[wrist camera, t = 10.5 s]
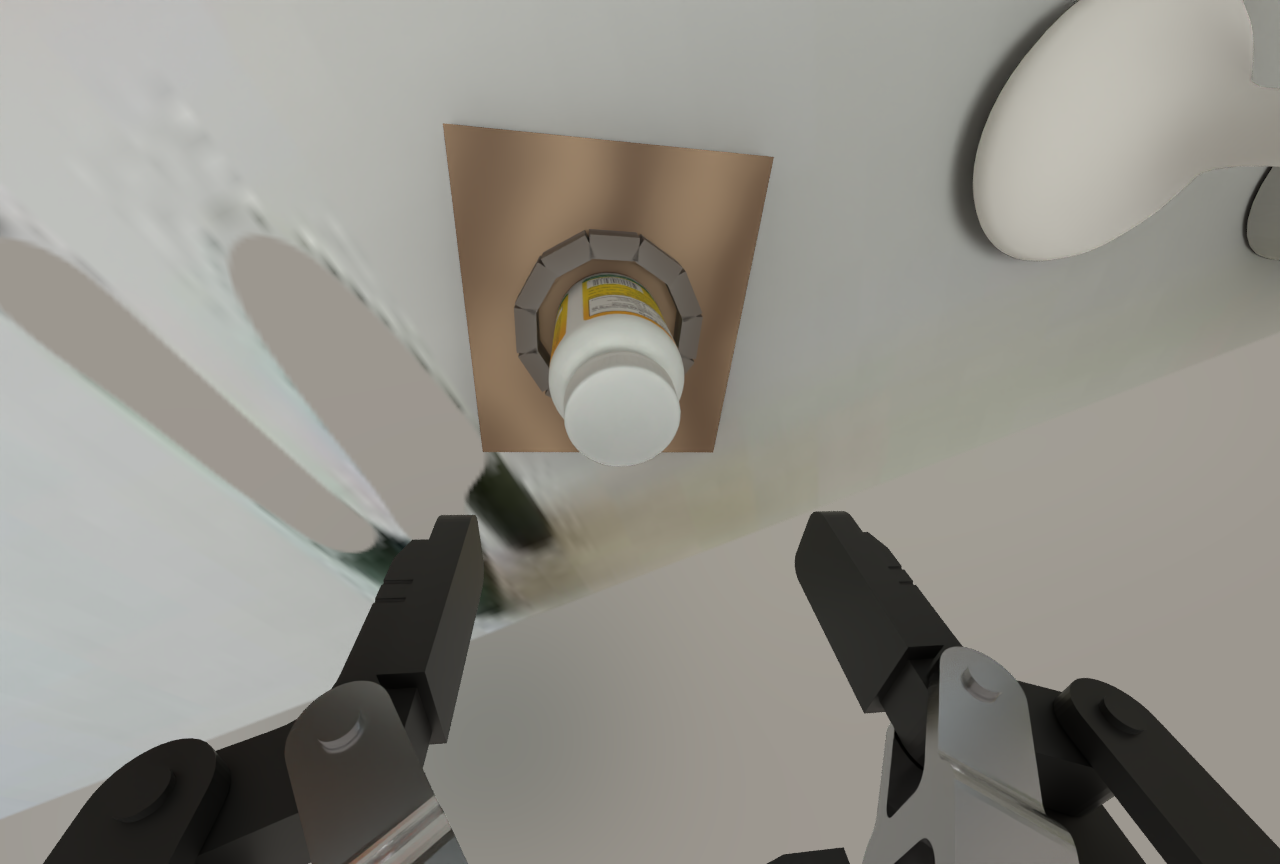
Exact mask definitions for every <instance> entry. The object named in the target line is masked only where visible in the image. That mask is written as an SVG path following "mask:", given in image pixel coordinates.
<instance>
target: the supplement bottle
mask: <svg viewBox="0 0 1280 864" xmlns="http://www.w3.org/2000/svg"><path fill="white" fill-rule="evenodd" d="M683 386H684V367H683V362H682V358H681V356H680V353H679V350H678V348H677V346H676V344H675V341H674V339H673V337H672V335H671V333H670V331H669V329H668V327H667V325H666V323H665V321H664V319H663V317H662V315H661V312H660V310H659V308H658V306H657V304H656V302H655V300H654V299H653V297H652V295H651V294H650V293H649V291H648V290H647V289H646V288H645V287H644V286H642V285H641V284H640V283H639V282H637V281H635V280H634V279H632V278H630V277H627V276H625V275H621V274H616V273H599V274H594V275H591V276H589V277H586V278H584V279H582V280H581V281H579V282H577V283H576V284H575V285H574V286H572V287H571V288H570V289H569V291H568V292H567V293H566V294H565V296H564V297H563V299H562V301H561V303H560V305H559V308H558V312H557V317H556V323H555V330H554V338H553V345H552V352H551V359H550V366H549V389H550V394H551V397H552V400H553V403H554V405H555V407H556V409H557V411H558V412H559V414H560V415H561V416H562V418H563V419H564V424H565V429H566V432H567V434H568V437H569V439H570V440H571V442H572V444H573V445H574V446H575V447H576V449H577V450H578V451H579V452H581V453H582V454H583V455H584V456H586V457H587V458H589V459H591V460H593V461H595V462H598V463H600V464H604V465H607V466H617V467H624V466H633V465H637V464H640V463H643V462H646V461H648V460H650V459H652V458H654V457H655V456H657V455H658V454H659V453H661V452H662V451H663V450H664V449H665V448H666V447H667V446H668V445H669V444H670V443H671V441H672V440H673V438H674V436H675V434H676V432H677V430H678V427H679V423H680V414H681V410H680V404H679V400H680V398H681V395H682V391H683Z"/></svg>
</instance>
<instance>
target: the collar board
mask: <svg viewBox="0 0 1280 864" xmlns="http://www.w3.org/2000/svg"><path fill="white" fill-rule="evenodd" d="M443 128H444V136H445V144H446V153H447V161H448V169H449V177H450V186H451V194H452V202H453V210H454V218H455V227H456V235H457V243H458V251H459V259H460V268H461V276H462V284H463V292H464V301H465V309H466V317H467V325H468V333H469V342H470V350H471V358H472V366H473V375H474V383H475V391H476V399H477V407H478V416H479V424H480V432H481V440H482V449H483V452H579V451H578V450H577V449H576V447H575V446H574V445H573V444H572V442H571V440H570V439H569V437H568V434H567V432H566V429H565V424H564V419H563V418H562V416H561V415H560V414H559V412H558V411H557V409H556V407H555V405H554V403H553V400H552V397H551V394H550V389H549V366H550V359H551V352H552V345H553V338H554V330H555V323H556V317H557V312H558V308H559V305H560V303H561V301H562V299H563V297H564V296H565V294H566V293H567V292H568V291H569V289H570V288H571V287H572V286H574V285H575V284H576V283H577V282H579V281H581V280H582V279H584V278H586V277H589V276H591V275H594V274H599V273H616V274H621V275H625V276H627V277H630V278H632V279H634V280H635V281H637V282H639V283H640V284H641V285H642V286H644V287H645V288H646V289H647V290H648V291H649V293H650V294H651V295H652V297H653V299H654V300H655V302H656V304H657V306H658V308H659V310H660V312H661V315H662V317H663V319H664V321H665V323H666V325H667V327H668V329H669V331H670V333H671V335H672V337H673V339H674V341H675V344H676V346H677V348H678V350H679V353H680V356H681V358H682V362H683V367H684V386H683V391H682V395H681V398H680V400H679V404H680V410H681V414H680V423H679V427H678V430H677V432H676V434H675V436H674V438H673V440H672V441H671V443H670V444H669V445H668V446H667V447H666V448H665V449H664V450H663V451H662V452H713V450H714V445H715V440H716V435H717V430H718V426H719V421H720V416H721V411H722V406H723V401H724V396H725V392H726V387H727V382H728V377H729V372H730V367H731V362H732V358H733V353H734V348H735V343H736V338H737V333H738V328H739V324H740V319H741V314H742V309H743V304H744V299H745V294H746V289H747V285H748V280H749V275H750V270H751V265H752V260H753V255H754V251H755V246H756V241H757V236H758V231H759V226H760V221H761V217H762V212H763V207H764V202H765V197H766V192H767V187H768V183H769V178H770V173H771V168H772V163H773V158H774V157H768V156H758V155H748V154H738V153H729V152H719V151H709V150H699V149H689V148H679V147H670V146H660V145H650V144H640V143H630V142H620V141H610V140H601V139H591V138H581V137H571V136H561V135H551V134H542V133H532V132H522V131H512V130H502V129H492V128H482V127H473V126H463V125H453V124H443Z"/></svg>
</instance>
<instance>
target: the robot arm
mask: <svg viewBox="0 0 1280 864" xmlns="http://www.w3.org/2000/svg"><path fill="white" fill-rule="evenodd" d="M1247 237H1248V241H1249V245H1250V247H1251V248H1252V249H1253V250H1254V252H1255V253H1256V254H1258V255H1260V256H1262V257H1264V258H1267V259H1273V260H1279V261H1280V167H1274V166H1273V167H1272V169H1271V171H1270V172H1269V174H1268V175H1267V177H1266V179H1265V180H1264V182H1263V183H1262V185H1261V187H1260V189H1259V191H1258V193H1257V195H1256V198H1255V200H1254V202H1253V204H1252V207H1251V211H1250V214H1249V218H1248V224H1247ZM795 570H796V574H797V578H798V580H799V582H800V584H801V586H802V588H803V590H804V593H805V595H806V596H807V599H808V601H809V603H810V604H811V606H812V609H813V611H814V613H815V615H816V617H817V619H818V621H819V623H820V625H821V627H822V629H823V631H824V633H825V635H826V637H827V639H828V641H829V643H830V645H831V647H832V649H833V651H834V653H835V655H836V657H837V659H838V661H839V663H840V665H841V667H842V669H843V671H844V673H845V675H846V677H847V679H848V681H849V683H850V685H851V687H852V689H853V691H854V693H855V695H856V698H857V700H858V701H859V704H860V706H861V708H862V710H863V712H864V713H876V712H886V714H887V716H888V718H889V720H890V721H891V723H890V725H889V727H888V729H887V733H886V740H885V749H884V758H883V766H882V776H881V784H880V792H879V801H878V809H877V817H876V823H875V827H874V830H873V833H872V836H871V838H870V840H869V843H868V845H867V848H866V851H865V855H864V858H863V862H862V864H1146V863H1145V862H1144V860H1143V859H1142V858H1141V857H1140V855H1139V854H1138V852H1137V851H1136V850H1135V848H1134V847H1133V846H1132V844H1131V843H1130V842H1129V840H1128V839H1127V838H1126V836H1125V835H1124V834H1123V832H1122V831H1121V830H1120V828H1119V827H1118V825H1117V824H1116V823H1115V821H1114V820H1113V819H1112V817H1111V816H1110V815H1109V813H1108V812H1107V811H1106V809H1105V808H1104V807H1103V805H1102V804H1103V803H1105V802H1106V801H1108V800H1109V799H1111V798H1112V797H1114V796H1115V797H1116V798H1117V799H1118V800H1119V802H1120V803H1121V805H1122V806H1123V807H1124V808H1125V810H1126V811H1127V812H1128V814H1129V815H1130V816H1131V818H1132V819H1133V820H1134V821H1135V823H1136V824H1137V825H1138V826H1139V828H1140V829H1141V831H1142V832H1143V833H1144V834H1145V836H1146V837H1147V838H1148V840H1149V841H1150V842H1151V843H1152V845H1153V846H1154V847H1155V849H1156V850H1157V851H1158V853H1159V854H1160V855H1161V856H1162V858H1163V859H1164V860H1165V862H1166V863H1167V864H1280V848H1279V847H1278V846H1277V845H1276V844H1275V843H1274V842H1273V841H1272V840H1271V839H1270V838H1269V837H1268V836H1267V835H1266V834H1265V833H1264V832H1263V831H1262V829H1261V828H1260V827H1259V826H1258V825H1257V824H1256V823H1255V822H1254V821H1253V820H1252V819H1251V818H1250V817H1249V816H1248V815H1247V814H1246V813H1245V812H1244V810H1243V809H1242V808H1241V807H1240V806H1239V805H1238V804H1237V803H1236V802H1235V801H1234V800H1233V799H1232V798H1231V797H1230V796H1229V795H1228V794H1227V793H1226V792H1225V790H1224V789H1223V788H1222V787H1221V786H1220V785H1219V784H1218V783H1217V782H1216V781H1215V780H1214V779H1213V778H1212V777H1211V776H1210V775H1209V774H1208V772H1207V771H1205V769H1204V768H1203V767H1202V766H1201V765H1200V764H1199V763H1198V762H1197V761H1196V760H1195V759H1194V758H1193V757H1192V756H1191V755H1190V754H1189V752H1187V750H1186V749H1185V748H1184V747H1183V746H1182V745H1181V744H1180V743H1179V742H1178V741H1177V740H1176V739H1175V738H1174V737H1173V736H1172V735H1171V733H1170V732H1169V731H1168V730H1167V729H1166V728H1165V727H1164V726H1163V725H1162V724H1161V723H1160V722H1159V721H1158V720H1157V719H1156V718H1155V717H1154V716H1153V715H1152V714H1151V713H1150V712H1149V711H1148V710H1147V709H1146V708H1145V707H1144V706H1142V705H1141V704H1140V703H1139V702H1137V701H1136V700H1135V699H1133V698H1132V697H1131V696H1129V695H1127V694H1126V693H1124V692H1123V691H1121V690H1119V689H1117V688H1116V687H1114V686H1111V685H1109V684H1107V683H1104V682H1101V681H1099V680H1095V679H1090V678H1081V679H1077V680H1075V681H1074V682H1072V683H1071V684H1070V685H1069V686H1068V687H1067V688H1066V689H1065V690H1064V691H1063V692H1060V691H1056V690H1052V689H1048V688H1044V687H1040V686H1036V685H1032V684H1028V683H1025V682H1021V681H1017V680H1016V679H1015V678H1014V677H1013V676H1012V675H1011V674H1010V673H1009V672H1008V671H1007V670H1006V669H1005V668H1004V667H1003V666H1002V665H1000V664H999V663H998V662H996V661H995V660H993V659H992V658H990V657H988V656H987V655H985V654H983V653H981V652H979V651H976V650H974V649H970V648H967V647H963V646H962V645H961V644H960V643H959V641H958V640H957V639H956V637H955V636H954V635H953V634H952V632H951V631H950V630H949V628H948V627H947V625H946V624H945V623H944V621H943V620H942V619H941V618H940V616H939V615H938V614H937V612H936V611H935V610H934V608H933V607H932V606H931V604H930V603H929V602H928V600H927V599H926V598H925V596H924V595H923V594H922V592H921V591H920V590H919V588H918V587H917V586H916V585H913V581H912V579H911V578H910V577H909V575H908V574H907V573H906V571H905V570H902V569H901V565H900V564H899V562H898V561H897V559H896V558H895V557H894V555H893V554H892V553H891V551H890V550H889V549H888V548H887V547H886V546H885V545H883V544H882V543H881V542H880V541H878V540H877V539H876V538H875V537H873V536H872V535H871V534H870V533H868V532H862V530H861V529H860V528H859V526H858V525H857V524H856V522H855V521H854V519H853V518H852V517H851V515H850V514H848V513H847V512H844V511H833V512H832V511H831V512H830V511H828V512H813V513H812V514H811V516H810V518H809V520H808V523H807V526H806V528H805V531H804V534H803V536H802V539H801V542H800V545H799V547H798V550H797V553H796V556H795ZM483 577H484V562H483V555H482V548H481V541H480V535H479V528H478V521H477V517H476V516H475V515H441V516H439V517H438V519H437V521H436V523H435V526H434V528H433V531H432V533H431V536H430V538H429V540H412V541H411V542H410V543H409V544H408V545H407V546H406V547H405V548H404V549H403V550H402V551H401V552H400V553H399V554H398V555H397V556H396V557H395V558H394V559H393V561H392V563H391V565H390V568H389V570H388V572H387V574H386V576H385V578H384V584H383V585H381V587H380V589H379V592H378V594H377V596H376V598H375V603H373V605H372V607H371V609H370V611H369V613H368V615H367V618H366V620H365V622H364V624H363V626H362V628H361V631H360V633H359V635H358V637H357V639H356V641H355V644H354V646H353V648H352V650H351V652H350V655H349V657H348V659H347V661H346V663H345V665H344V668H343V670H342V672H341V674H340V676H339V678H338V680H337V681H336V683H335V684H334V686H333V687H332V689H331V690H329V691H327V692H326V693H324V694H323V695H321V696H320V697H318V698H317V699H316V700H315V701H313V702H312V703H311V704H310V705H309V706H308V707H307V708H306V709H305V710H304V711H303V713H302V714H301V715H300V716H299V717H298V718H297V719H296V720H294V721H293V722H291V723H289V724H287V725H285V726H282V727H280V728H278V729H275V730H272V731H270V732H267V733H264V734H261V735H259V736H256V737H253V738H250V739H248V740H245V741H242V742H240V743H237V744H234V745H231V746H228V747H225V748H223V749H220V750H217V751H215V750H214V749H213V748H212V747H211V746H210V745H209V744H208V743H207V742H204V741H202V740H199V739H193V738H189V739H179V740H174V741H170V742H167V743H164V744H161V745H159V746H157V747H154V748H152V749H150V750H148V751H146V752H144V753H143V754H141V755H139V756H137V757H136V758H134V759H133V760H131V761H130V762H128V763H127V764H125V765H124V766H123V767H121V768H120V769H119V770H118V771H116V772H115V773H114V774H113V775H112V776H110V777H109V778H108V779H107V780H106V781H105V782H104V783H103V784H102V785H101V786H100V787H99V788H98V789H97V790H96V791H95V793H93V795H92V796H91V797H90V798H89V800H88V801H87V802H86V804H85V805H84V806H83V808H82V809H81V810H80V812H79V813H78V815H77V816H76V818H75V819H74V820H73V822H72V823H71V825H70V826H69V828H68V829H67V830H66V832H65V833H64V835H63V836H62V838H61V839H60V840H59V842H58V843H57V845H56V846H55V848H54V849H53V850H52V852H51V853H50V855H49V856H48V857H47V859H46V860H45V862H44V863H43V864H308V863H312V864H468V863H467V860H466V858H465V856H464V854H463V852H462V850H461V847H460V845H459V843H458V841H457V839H456V837H455V834H454V832H453V830H452V828H451V826H450V824H449V822H448V819H447V817H446V815H445V813H444V811H443V810H442V808H441V806H440V805H439V803H438V801H437V798H436V797H435V794H434V792H433V790H432V788H431V786H430V784H429V781H428V779H427V777H426V775H425V773H424V771H423V765H424V761H425V758H426V753H427V750H428V746H429V744H442V743H447V739H448V735H449V731H450V726H451V722H452V717H453V713H454V708H455V704H456V700H457V696H458V691H459V687H460V682H461V678H462V674H463V669H464V665H465V661H466V656H467V652H468V647H469V643H470V639H471V635H472V630H473V626H474V621H475V617H476V613H477V608H478V604H479V600H480V595H481V591H482V586H483ZM767 864H850V863H849V861H848V858H847V855H846V853H845V850H844V848H835V849H827V850H818V851H809V852H801V853H792V854H785V855H782V856H780V857H778V858H777V859H775V860H773V861H771V862H769V863H767Z"/></svg>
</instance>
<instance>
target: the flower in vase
mask: <svg viewBox="0 0 1280 864" xmlns="http://www.w3.org/2000/svg"><path fill="white" fill-rule="evenodd" d="M1252 71H1253V30H1252V24H1251V21H1250V18H1249V15H1248V13H1247V10H1246V7H1245V5H1244V2H1243V0H1079V1H1078V2H1077V3H1075V4H1074V5H1073V6H1072V7H1071V8H1069V9H1068V10H1067V11H1066V12H1065V13H1064V14H1063V15H1062V16H1061V17H1060V18H1059V19H1058V20H1057V21H1056V22H1055V23H1054V24H1053V25H1052V26H1051V27H1050V28H1049V29H1048V30H1047V31H1046V32H1045V33H1044V34H1043V35H1042V37H1041V38H1040V39H1039V40H1038V41H1037V43H1036V44H1035V45H1034V46H1033V47H1032V48H1031V50H1030V51H1029V52H1028V53H1027V54H1026V56H1025V57H1024V58H1023V59H1022V61H1021V62H1020V64H1019V65H1018V66H1017V68H1016V69H1015V70H1014V72H1013V73H1012V75H1011V76H1010V78H1009V79H1008V81H1007V83H1006V84H1005V86H1004V87H1003V89H1002V91H1001V92H1000V94H999V96H998V98H997V100H996V102H995V104H994V106H993V108H992V110H991V112H990V115H989V117H988V119H987V122H986V124H985V127H984V129H983V132H982V136H981V139H980V142H979V145H978V149H977V154H976V159H975V164H974V173H973V196H974V202H975V208H976V212H977V216H978V219H979V222H980V224H981V227H982V229H983V231H984V233H985V234H986V236H987V238H988V239H989V240H990V241H991V242H992V244H993V245H994V246H995V247H996V248H998V249H999V250H1000V251H1002V252H1003V253H1005V254H1007V255H1009V256H1011V257H1013V258H1017V259H1021V260H1026V261H1047V260H1055V259H1060V258H1066V257H1071V256H1075V255H1079V254H1082V253H1085V252H1088V251H1091V250H1094V249H1096V248H1098V247H1100V246H1102V245H1105V244H1107V243H1109V242H1110V241H1112V240H1114V239H1116V238H1117V237H1119V236H1121V235H1123V234H1124V233H1126V232H1127V231H1129V230H1131V229H1132V228H1134V227H1136V226H1137V225H1139V224H1140V223H1142V222H1143V221H1145V220H1146V219H1148V218H1149V217H1150V216H1152V215H1153V214H1154V213H1156V212H1157V211H1158V210H1159V209H1161V208H1162V207H1163V206H1165V205H1166V204H1167V203H1168V202H1169V201H1170V200H1171V199H1173V198H1174V197H1175V196H1176V195H1177V194H1178V193H1179V192H1181V191H1182V190H1183V189H1184V188H1185V187H1186V186H1187V185H1188V184H1189V183H1190V182H1191V181H1193V180H1194V179H1195V178H1196V177H1197V176H1198V175H1200V174H1201V173H1204V172H1207V171H1211V170H1214V169H1220V168H1229V167H1237V166H1274V167H1280V89H1277V88H1267V87H1261V86H1259V85H1257V84H1255V83H1253V81H1252Z"/></svg>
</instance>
